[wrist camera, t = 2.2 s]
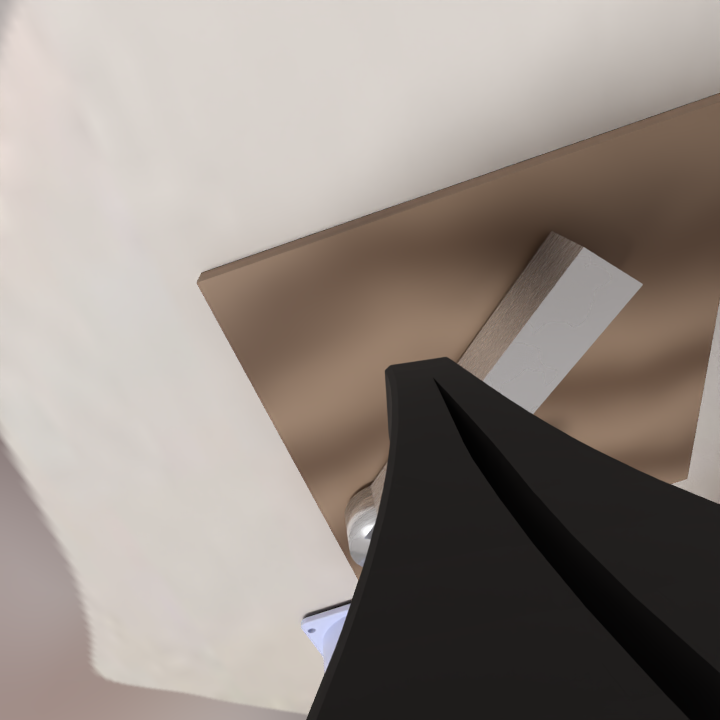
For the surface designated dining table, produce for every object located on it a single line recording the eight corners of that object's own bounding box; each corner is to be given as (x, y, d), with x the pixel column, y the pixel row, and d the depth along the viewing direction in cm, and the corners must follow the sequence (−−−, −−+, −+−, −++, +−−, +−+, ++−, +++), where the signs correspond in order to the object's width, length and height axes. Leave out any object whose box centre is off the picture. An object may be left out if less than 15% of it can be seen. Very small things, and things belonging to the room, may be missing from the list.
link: (396, 541, 24) (405, 576, 22) (331, 527, 22) (334, 562, 20) (615, 270, 17) (652, 289, 15) (541, 224, 15) (572, 240, 14)
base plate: (674, 466, 26) (687, 478, 25) (358, 568, 26) (360, 583, 26) (731, 88, 15) (757, 88, 14) (201, 273, 16) (196, 283, 15)
